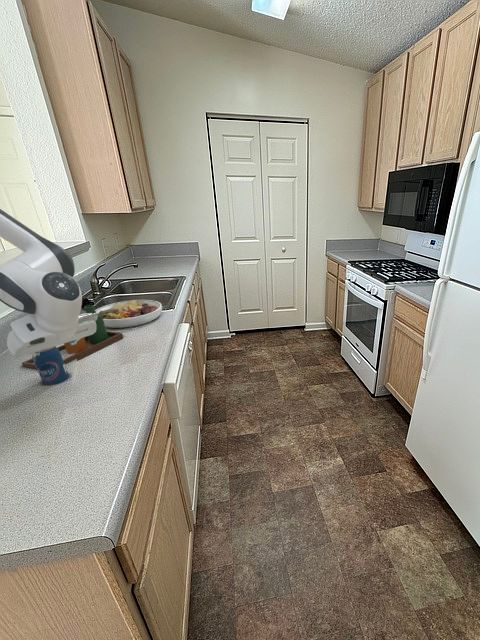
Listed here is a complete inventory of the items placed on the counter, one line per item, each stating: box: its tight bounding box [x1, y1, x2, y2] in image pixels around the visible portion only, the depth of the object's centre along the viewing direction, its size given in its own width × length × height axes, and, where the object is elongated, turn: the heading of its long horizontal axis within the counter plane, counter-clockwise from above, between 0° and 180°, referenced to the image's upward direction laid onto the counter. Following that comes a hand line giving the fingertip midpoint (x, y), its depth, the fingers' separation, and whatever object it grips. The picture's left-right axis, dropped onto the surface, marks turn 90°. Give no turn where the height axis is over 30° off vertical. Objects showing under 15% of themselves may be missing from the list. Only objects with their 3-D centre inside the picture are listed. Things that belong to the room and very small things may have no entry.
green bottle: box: [83, 304, 109, 344], centre depth 131 cm, size 7×7×15 cm
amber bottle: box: [63, 337, 88, 355], centre depth 122 cm, size 7×7×15 cm
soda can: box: [31, 346, 70, 386], centre depth 103 cm, size 7×7×12 cm
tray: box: [21, 330, 124, 370], centre depth 125 cm, size 32×13×2 cm, turn 162°
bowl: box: [95, 299, 163, 329], centre depth 157 cm, size 30×30×8 cm
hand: (54, 348), depth 94 cm, fingers open, 8 cm apart
